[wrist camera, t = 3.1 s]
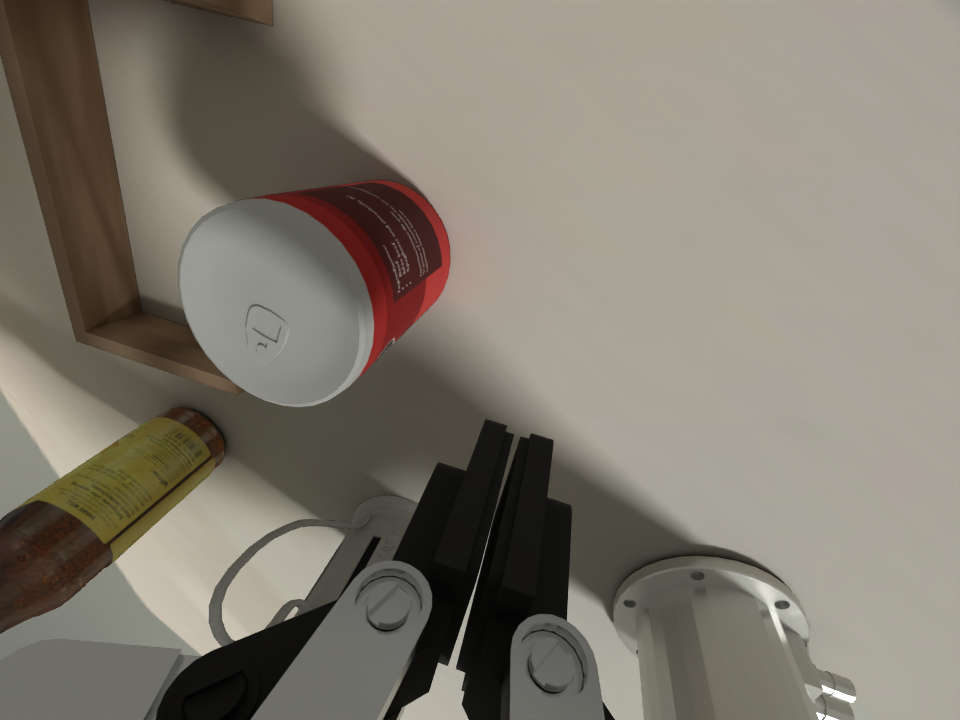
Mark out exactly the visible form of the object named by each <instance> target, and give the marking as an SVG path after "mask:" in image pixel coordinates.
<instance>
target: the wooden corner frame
mask: <svg viewBox="0 0 960 720" xmlns="http://www.w3.org/2000/svg"><path fill="white" fill-rule="evenodd" d="M163 1H167V2H171V3H176V4H180V5H184V6H189V7H193V8H197V9H201V10H206V11H210V12H214V13H219V14H223V15H227V16H232V17H236V18H240V19H244V20H249V21H253V22H257V23H262V24H266V25H270V26H273V17H272V1H271V0H163ZM0 55H1V59H2V63H3V66H4V70H5V74H6V78H7V82H8V85H9V89H10V93H11V97H12V100H13V104H14V108H15V112H16V116H17V119H18V123H19V127H20V131H21V134H22V138H23V142H24V146H25V150H26V153H27V157H28V161H29V165H30V168H31V172H32V176H33V180H34V184H35V187H36V191H37V195H38V199H39V202H40V206H41V210H42V214H43V218H44V221H45V225H46V229H47V233H48V236H49V240H50V244H51V248H52V252H53V255H54V259H55V263H56V267H57V271H58V274H59V278H60V282H61V286H62V289H63V293H64V297H65V301H66V305H67V308H68V312H69V316H70V320H71V323H72V327H73V331H74V335H75V339H76V341H77V342H80V343H83V344H86V345H89V346H92V347H95V348H98V349H101V350H104V351H107V352H110V353H113V354H116V355H119V356H122V357H125V358H128V359H131V360H134V361H137V362H140V363H143V364H146V365H149V366H152V367H155V368H157V369H160V370H163V371H166V372H169V373H172V374H175V375H178V376H181V377H184V378H187V379H190V380H193V381H196V382H199V383H202V384H205V385H208V386H211V387H214V388H217V389H220V390H223V391H226V392H229V393H232V394H235V395H239V394H240V393H241V392H243V391H244V389H242V388H241V387H239V386H238V385H236V384H235V383H233V382H232V381H231V380H230V379H229V378H228V377H227V376H226V375H224V374H223V373H222V372H221V371H220V370H219V369H218V368H217V367H216V366H215V364H214V363H213V362H212V361H211V360H210V359H209V357H208V356H207V355H206V354H205V352H204V351H203V349H202V348H201V346H200V345H199V343H198V342H197V340H196V338H195V336H194V334H193V332H192V330H191V328H190V327H188V326H184V325H181V324H178V323H175V322H172V321H169V320H166V319H163V318H160V317H157V316H153V315H150V314H147V313H144V312H142V310H141V305H140V299H139V293H138V288H137V282H136V276H135V271H134V265H133V259H132V254H131V248H130V242H129V237H128V231H127V225H126V220H125V214H124V208H123V203H122V197H121V191H120V186H119V180H118V174H117V169H116V163H115V157H114V152H113V146H112V140H111V135H110V129H109V123H108V118H107V112H106V106H105V101H104V95H103V89H102V84H101V78H100V72H99V67H98V61H97V55H96V50H95V44H94V38H93V33H92V27H91V21H90V16H89V10H88V4H87V0H0Z"/></svg>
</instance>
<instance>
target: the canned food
mask: <svg viewBox="0 0 960 720" xmlns="http://www.w3.org/2000/svg"><path fill="white" fill-rule="evenodd" d="M449 268H450V245H449V240H448V235H447V232H446V229H445V227H444V225H443V222H442V220H441V219H440V217H439V215H438V214H437V212H436V211H435V209H434V208H433V207H432V206H431V205H430V204H429V203H428V202H427V201H426V200H425V199H424V198H423V197H421V196H420V195H419V194H417V193H416V192H415V191H413V190H412V189H410V188H408V187H406V186H403V185H401V184H399V183H395V182H390V181H386V180H378V181H365V182H358V183H351V184H344V185H336V186H329V187H322V188H315V189H307V190H300V191H293V192H285V193H278V194H271V195H265V196H262V197H255V198H248V199H243V200H240V201H236V202H233V203H229V204H227V205H225V206H221V207H218V208H216V209H214V210H212V211H211V212H209V213H208V214H206V215H204V216H203V217H202V218H201V219H200V220H199V221H198V222H197V223H196V224H195V225H194V227H193V228H192V229H191V230H190V232H189V234H188V236H187V238H186V240H185V242H184V244H183V246H182V250H181V255H180V259H179V263H178V286H179V292H180V299H181V304H182V307H183V310H184V313H185V316H186V319H187V322H188V324H189V326H190V328H191V330H192V332H193V334H194V336H195V338H196V340H197V342H198V343H199V345H200V346H201V348H202V349H203V351H204V352H205V354H206V355H207V356H208V357H209V359H210V360H211V361H212V362H213V363H214V364H215V366H216V367H217V368H218V369H219V370H220V371H221V372H222V373H223V374H224V375H226V376H227V377H228V378H229V379H230V380H231V381H232V382H233V383H235V384H236V385H238V386H239V387H241V388H242V389H244V390H245V391H247V392H248V393H250V394H252V395H254V396H256V397H258V398H261V399H263V400H265V401H268V402H271V403H275V404H278V405H282V406H292V407H304V406H314V405H317V404H320V403H323V402H326V401H328V400H330V399H331V398H333V397H335V396H336V395H338V394H339V393H341V392H342V391H343V390H345V389H346V388H348V387H349V386H350V385H351V384H352V383H353V382H354V381H355V380H357V379H358V378H359V377H360V376H361V375H362V374H363V373H364V372H365V371H366V370H367V369H368V368H369V367H370V366H371V365H372V364H373V363H374V362H375V361H376V360H377V359H378V358H379V357H380V356H381V355H382V354H384V353H385V352H386V351H387V350H388V349H389V348H390V347H391V346H392V345H393V344H394V343H395V342H396V341H397V340H398V339H399V338H400V337H401V336H402V335H403V334H404V333H405V332H406V331H407V330H408V329H409V328H410V327H411V326H412V325H413V324H414V323H415V322H416V321H417V320H418V319H419V318H420V317H421V316H422V315H423V314H424V313H425V312H426V311H427V310H428V309H429V308H430V307H431V306H432V305H433V304H434V302H435V301H436V300H437V299H438V297H439V296H440V294H441V293H442V291H443V289H444V287H445V284H446V281H447V279H448V274H449Z"/></svg>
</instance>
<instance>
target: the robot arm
mask: <svg viewBox="0 0 960 720" xmlns="http://www.w3.org/2000/svg"><path fill="white" fill-rule="evenodd" d="M506 428H507V426H506V425H503V424H500V423H497V422H494V421H490V420H487V419H486V420H485V422H484V425H483V427H482V430H481V433H480V436H479V438H478V441H477V444H476V446H475V449H474V452H473V454H472V457H471V460H470V463H469V465H468V468H467V471H464V470H461V469H458V468H455V467H452V466H449V465H446V464H443V463H440V462H439V463H438V464H437V465H436V467H435V469H434V471H433V474H432V476H431V478H430V480H429V482H428V484H427V486H426V489H425V491H424V493H423V495H422V497H421V499H420V501H419V504H418V506H417V508H416V510H415V512H414V514H413V516H412V518H411V521H410V523H409V525H408V527H407V529H406V531H405V533H404V536H403V538H402V540H401V542H400V544H399V546H398V548H397V551H396V553H395V555H394V557H393V559H392V561H383V562H379V563H374V564H373V565H371V566H369V567H367V568H365V569H364V570H362V571H361V572H360V573H359V574H358V575H357V576H356V577H355V578H354V579H353V581H352V582H351V583H350V585H349V586H348V588H347V589H346V590H345V592H344V593H343V594H342V596H341V597H340V598H339V599H337V600H335V601H332V602H330V603H327V604H325V605H323V606H320V607H318V608H315V609H313V610H310V611H308V612H306V613H303V614H301V615H298V616H296V617H293V618H291V619H288V620H286V621H284V622H281V623H279V624H276V625H274V626H271V627H269V628H267V629H264V630H262V631H259V632H257V633H254V634H252V635H250V636H247V637H245V638H242V639H240V640H237V641H235V642H233V643H230V644H228V645H225V646H223V647H220V648H218V649H215V650H213V651H211V652H209V653H207V654H205V655H204V656H191V655H183V654H182V650H181V649H172V648H161V647H149V646H137V645H125V644H114V643H103V642H90V641H80V640H68V639H54V640H43V641H39V642H36V643H33V644H31V645H28V646H25V647H22V648H20V649H18V650H16V651H15V652H13V653H11V654H10V655H9V656H7V657H5V658H3V659H2V660H0V720H400V718H401V715H402V713H403V711H404V709H405V706H406V705H407V704H409V703H411V702H413V701H414V700H416V699H418V698H419V697H421V696H423V695H424V694H426V693H428V692H429V690H430V687H431V683H432V680H433V677H434V674H435V671H436V667H437V664H438V662H439V663H441V664H444V665H447V666H448V664H449V661H450V658H451V655H452V652H453V649H454V646H455V643H456V640H457V637H458V634H459V631H460V628H461V625H462V622H463V619H464V616H465V613H466V610H467V607H468V604H469V601H470V598H471V595H472V592H473V589H474V586H475V583H476V580H477V576H478V573H479V569H480V566H481V562H482V558H483V554H484V550H485V547H486V543H487V539H488V535H489V531H490V527H491V523H492V519H493V515H494V511H495V507H496V503H497V499H498V496H499V492H500V488H501V484H502V480H503V476H504V472H505V468H506V464H507V460H508V456H509V452H510V448H511V445H512V441H513V437H514V434H512V433H508V432H506ZM552 451H553V440H551V439H548V438H545V437H542V436H538V435H535V434H532V433H531V435H530V437H529V439H528V438H524V437H520V440H519V443H518V446H517V449H516V452H515V455H514V458H513V461H512V464H511V468H510V471H509V474H508V477H507V480H506V483H505V486H504V489H503V492H502V495H501V498H500V501H499V504H498V507H497V510H496V513H495V516H494V520H493V523H492V527H491V531H490V535H489V539H488V543H487V547H486V551H485V555H484V559H483V563H482V567H481V571H480V575H479V579H478V583H477V587H476V591H475V594H474V598H473V602H472V606H471V610H470V614H469V618H468V622H467V626H466V630H465V634H464V638H463V642H462V646H461V650H460V654H459V658H458V662H457V666H456V669H457V670H460V671H463V672H465V677H464V681H463V686H462V691H464V697H463V701H462V706H463V708H464V710H465V712H466V714H467V716H468V719H469V720H615V719H614V718H613V716H612V715H611V713H610V712H609V710H608V709H607V707H606V706H605V704H604V703H603V701H602V696H601V689H600V683H599V676H598V669H597V665H596V661H595V657H594V654H593V651H592V649H591V648H590V646H589V644H588V642H587V640H586V638H585V637H584V636H583V635H582V634H581V633H580V632H579V631H578V630H577V628H576V627H574V626H573V625H572V624H570V623H569V622H567V604H568V583H569V562H570V541H571V520H572V508H571V505H568V504H565V503H562V502H559V501H556V500H553V499H550V498H547V493H548V485H549V476H550V468H551V460H552ZM613 617H614V625H615V629H616V631H617V633H618V636H619V638H620V639H621V641H622V642H623V643H624V645H625V646H626V647H627V648H628V649H629V650H630V651H631V652H632V653H633V654H634V655H635V656H636V657H637V658H639V669H640V680H641V692H642V703H643V714H644V720H854V714H853V711H852V708H851V707H850V705H849V704H848V703H853V701H854V700H855V697H856V691H855V687H854V685H853V683H852V682H851V681H850V680H849V679H847V678H845V677H842V676H839V675H836V674H833V673H831V672H828V671H822V670H819V669H817V668H816V666H815V665H814V664H813V663H812V662H811V659H810V657H809V655H808V652H807V650H806V649H807V646H808V643H809V640H810V626H809V623H808V620H807V618H806V615H805V613H804V611H803V608H802V606H801V605H800V603H799V601H798V599H797V597H796V596H795V595H794V594H793V593H792V592H791V591H790V589H789V588H788V587H787V586H786V585H784V584H783V583H782V582H780V581H779V580H778V579H776V578H775V577H773V576H772V575H770V574H768V573H766V572H764V571H762V570H760V569H758V568H756V567H753V566H750V565H747V564H744V563H741V562H738V561H734V560H729V559H724V558H719V557H708V556H685V557H676V558H671V559H665V560H661V561H658V562H655V563H653V564H650V565H647V566H645V567H643V568H641V569H640V570H638V571H636V572H634V573H633V574H632V575H630V576H629V577H628V578H627V579H626V580H625V581H624V582H623V583H622V585H621V586H620V587H619V589H618V590H617V592H616V595H615V598H614V603H613Z"/></svg>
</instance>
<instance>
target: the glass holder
mask: <svg viewBox="0 0 960 720" xmlns="http://www.w3.org/2000/svg"><path fill="white" fill-rule="evenodd" d="M417 506H418V503H415V502H413V501H411V500H408V499H405V498H402V497H396V496H384V495H383V496H376V497H372V498H369V499H367V500H365V501H364V502H362V503H361V504H360V505H359V506H358V507H357V509H356V510H355V512H354V515H353V518H352V523H349V522H341V521H333V520H317V519H303V520H298V521H295V522H292V523H290V524H287V525H284V526H282V527H280V528H278V529H276V530H274V531H272V532H270V533H268V534H267V535H265V536H264V537H263V538H261V539H260V540H258V541H257V542H256V543H254V544H253V545H252V546H250V547H249V548H248V549H247V550H246V551H245V552H244V553H243V554H242V555H241V556H240V557H239V558H238V559H237V560H236V561H235V562H234V563H233V564H232V565H231V566H230V567H229V568H228V570H227V571H226V573H225V574H224V576H223V577H222V578H221V580H220V581H219V583H218V584H217V586H216V587H215V590H214V593H213V596H212V598H211V601H210V604H209V624H210V627H211V630H212V633H213V636H214V638H215V639H216V640H217V642H218V643H219V644H220V645H221V646H222V647H223V646H225V645H228V644H230V643H233V642H235V641H234V640H232V639H231V638H230V636H229V635H228V633H227V632H226V630H225V627H224V624H223V621H222V602H223V599H224V596H225V593H226V591H227V588H228V586H229V585H230V583H231V582H232V580H233V579H234V578H235V576H236V575H237V573H238V572H239V570H240V569H241V568H242V567H243V566H244V565H245V564H246V563H247V562H248V561H249V560H250V559H251V558H252V557H253V556H254V555H255V553H256V552H257V551H258V550H260V549H261V548H262V547H264V546H265V545H266V544H268V543H269V542H270V541H272V540H273V539H275V538H277V537H279V536H281V535H283V534H285V533H287V532H289V531H291V530H294V529H297V528H300V527H307V526H325V527H332V528H341V529H350V530H349V531H348V533H347V535H346V536H345V538H344V539H343V541H342V542H341V544H340V546H339V547H338V549H337V550H336V552H335V553H334V555H333V557H332V558H331V560H330V561H329V563H328V564H327V566H326V567H325V569H324V571H323V572H322V574H321V575H320V577H319V578H318V580H317V582H316V583H315V585H314V586H313V588H312V589H311V591H310V593H309V594H308V596H307V597H306V599H305V600H302V599H297V600H291V601H289V602H287V603H286V604H285V605H283V606H282V607H281V609H280V610H279V611H278V612H277V614H276V615H275V616H274V618H273V619H272V621H271V622H270V623H269V624H268V625H267V627H266V628H265V629H267V628H269V627H271V626H274V625H276V624H279V623H281V622H283V621H284V620H285V618H286V617H287V616H288V614H289V613H290V612H291V610H292V609H293V608H294V607H295V606H296V607H298V608H299V610H298V611H297V613H296V614H295V616H294V617H296V616H298V615H301V614H303V613H306V612H308V611H310V610H313V609H315V608H318V607H320V606H323V605H325V604H327V603H330V602H332V601H335V600H337V599H339V598H340V597H341V596H342V594H343V593H344V592H345V590H346V589H347V588H348V586H349V585H350V583H351V582H352V581H353V579H354V578H355V577H356V576H357V575H358V574H359V573H360V572H361V571H362V570H364V569H365V568H367V567H369V566H371V565H373V564H374V563H379V562H383V561H392V559H393V557H394V555H395V553H396V551H397V548H398V546H399V544H400V542H401V540H402V538H403V536H404V533H405V531H406V529H407V527H408V525H409V523H410V521H411V518H412V516H413V514H414V512H415V510H416V508H417Z"/></svg>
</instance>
